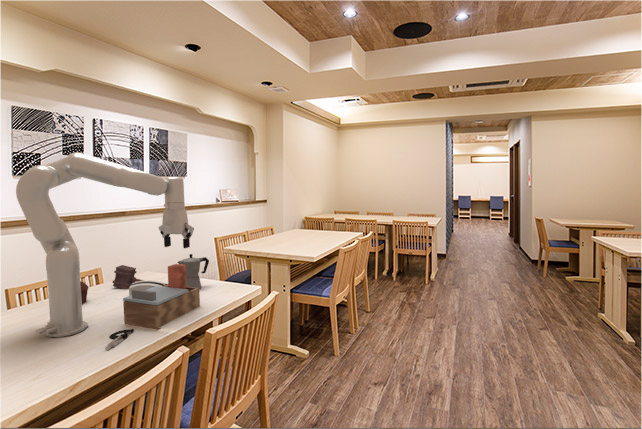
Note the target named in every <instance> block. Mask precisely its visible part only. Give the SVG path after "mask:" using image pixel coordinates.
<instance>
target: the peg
mask: <svg viewBox="0 0 642 429" xmlns="http://www.w3.org/2000/svg"><path fill="white" fill-rule="evenodd" d="M167 284H168V287H171V288H179V289H186V265H183V264H179V263H174V264H171V265H168V266H167Z"/></svg>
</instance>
